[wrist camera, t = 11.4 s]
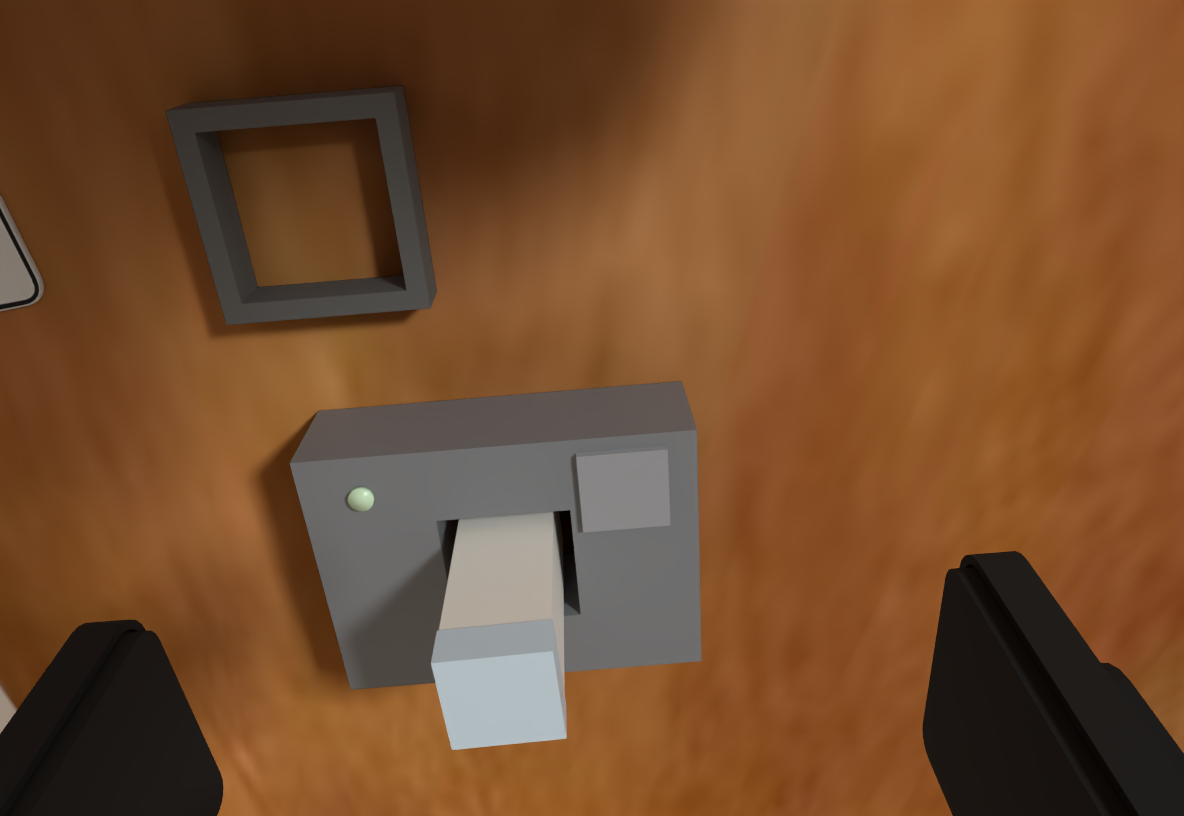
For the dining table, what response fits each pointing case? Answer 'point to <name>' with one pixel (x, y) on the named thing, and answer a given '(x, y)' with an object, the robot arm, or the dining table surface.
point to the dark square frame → (223, 225)
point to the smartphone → (16, 267)
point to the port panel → (507, 487)
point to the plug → (503, 633)
